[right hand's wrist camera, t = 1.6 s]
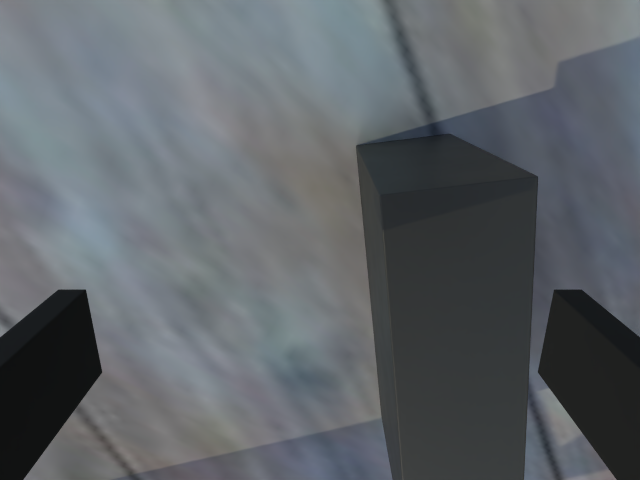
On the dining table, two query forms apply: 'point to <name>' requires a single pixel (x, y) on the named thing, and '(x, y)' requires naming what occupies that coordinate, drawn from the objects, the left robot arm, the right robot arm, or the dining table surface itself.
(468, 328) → the box
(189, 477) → the dining table surface
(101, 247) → the dining table surface
